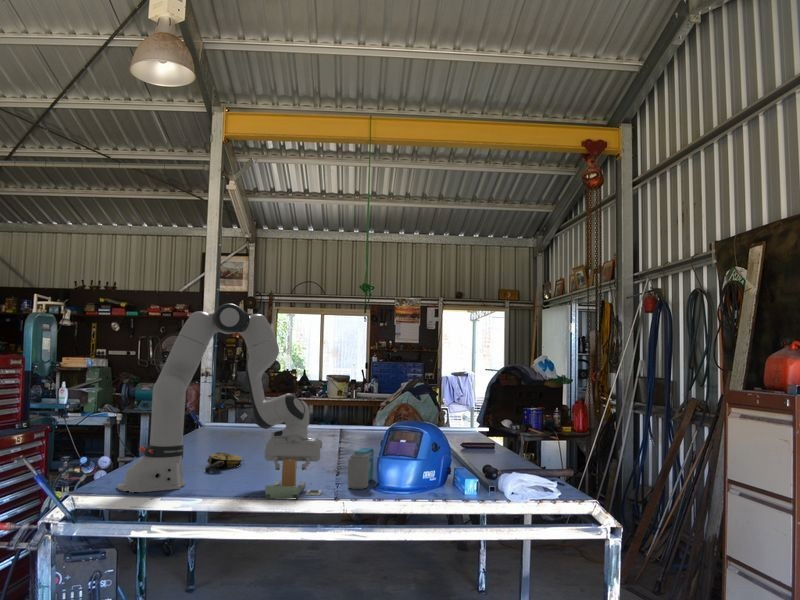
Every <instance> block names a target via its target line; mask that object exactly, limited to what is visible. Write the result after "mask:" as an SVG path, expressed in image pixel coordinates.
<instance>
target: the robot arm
mask: <svg viewBox="0 0 800 600" xmlns="http://www.w3.org/2000/svg"><path fill="white" fill-rule="evenodd" d="M235 333H236V334H239V335H240V336H241V338H242V339H244V343H245V345H246V348H247V352H248V362H247V363H246V365H245V374H246V381H247V385H248V391H249V394H250V401H251V406H252V408H251V409H252V418H253V422H254V423H255V424H256V425H257V426H258V427H260V428H262V429H265V430H268V429H270V428H273V427H274V426H276V425H279V424H282V423H284V424H285V427H284V429H281V430H275V431H272V432H271V433H270V439H268V440H267V443H266V445H265V448H264V453H263V455H264V459H265V460H266V461H267V462H269V461H270V462H271V461H272V462H273V464H274V466H275V467H274V470H276V471H280V469H281V463H278V462H283V460H284V459H293V460H297V462H304V463H302V464H301V471H305V472H306V471H307V467H308V466H309V465H310V464H311V462H319V461H320V460H321V449H322V447H323V441H322V440H321V439H319V438H308V433H309V432H308V431H309V430H308V428H309V425H310V408H309V405H308V403H306V402H305V401H304V400H302V399H300V398H299V397H298V396H296V395H295V394H293V393H285V394H283V395H279V396H277V397H274V398H271V399H268V400H267V399H266V397H265V392H264V387H263V383H262V382H263V381H262V378H263V375H264V373H265V372H266V371H267V370H268V369H269V368H270V367H271V366H272V365H273V364H274V363H275V362H276V360H277V359H278V356H279V353H280V348H279V343H278V341H277V339H276V336H275V335H276V334H275V333H274V331H273V328H272V326H271V324H270V322H269V321H268V319H267V318H266V317H265V315H263V314H260V313H252V314H250V315H249V314H248V313H247V312H246V311H245V310H244V309H243V308H241V307H240V306H239V305H237V304H234V303H231V302H230V303H224V304H221V305H220V306H218V307H217V309H216V310H215V311H214V312H213V313H208V312H206V311H201V310H200V311H194V312H193V313H191V314H190V315H189V317H188V318H187V320H186V321H185V323H184V324H183V326H182V327H181V329H180V331H179V333H178V335H177V337H176V339H175V341H174V344H173V346H172V348H171V350H170V352H169V354H168V356H167V358H166V361H165V363H164V365H163V367H162V369H161V371H160V374H159V375H158V377H157V379H156V382H155V383H154V385H153V387H152V400H151V416H150V417H151V418H150V419H151V420H150V421H151V422H150V423H151V424H150V437H149V445H148V446H147V447H146V446H143V445H142V446H140V447H139V448H138V451H139V453H144V454H143V455H144V456H143V457H141V458H140V459H139V460H138V461H137V462H135V463H134V464H132V466H130V467H129V468H128V469H127V470H126V472H125V475H124V480H123V483H119V484H117V485H116V489H117V490H120V491H122V492H126V491H129V492H128V493H134V492H137V494H138V492H139V493H146V492H147V493H149V492H159V491H160V492H161V491H171V490H180V489H181V487H184V486H185V485H186V483H185V479H184V473H183V472H184V471H183V458H184V450H185V448H184V447H185V446H184V444H183V442H184V440H183V439H184V429H185V428H184V425H185V424H184V423H185V411H186V396H187V391H188V388H189V387H190V384H191V382H192V380H193V377H194V376H195V374H196V372H197V369H198V368H199V365H200V363H201V361H202V359H203V357H204V355H205V353H206V351H207V348H208V347H209V344H210V342H211V339H212V338H213V337H214V335H215V334H222V335H223V334H225V335H232V334H235Z"/></svg>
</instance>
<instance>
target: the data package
mask: <svg viewBox="0 0 800 600" xmlns="http://www.w3.org/2000/svg"><path fill="white" fill-rule="evenodd" d="M374 452H375V451H374V448H370V447H368V448H365V447H361V448H358V449H356V450H354V452H353V454H365V455H367V458H368V459H369V473H368V482H369V480H370V481H371V479H373V476H374V455H375V454H374Z"/></svg>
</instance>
